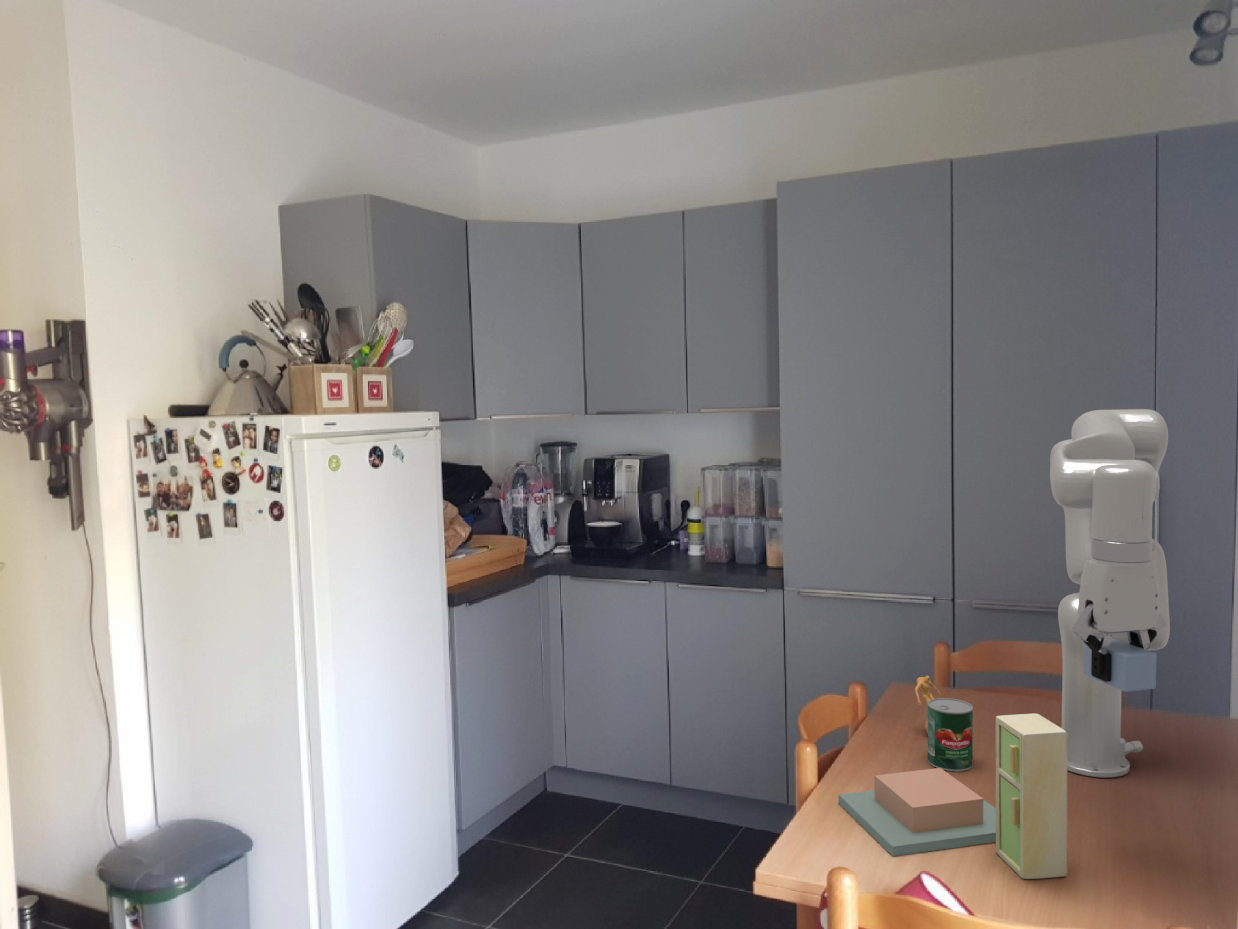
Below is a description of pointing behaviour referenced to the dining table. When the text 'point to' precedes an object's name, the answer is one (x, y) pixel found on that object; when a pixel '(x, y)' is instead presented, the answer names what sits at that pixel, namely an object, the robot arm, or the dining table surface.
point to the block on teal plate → (922, 812)
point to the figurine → (925, 692)
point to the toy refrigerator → (1031, 795)
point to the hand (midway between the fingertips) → (1118, 675)
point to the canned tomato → (950, 734)
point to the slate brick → (1127, 666)
